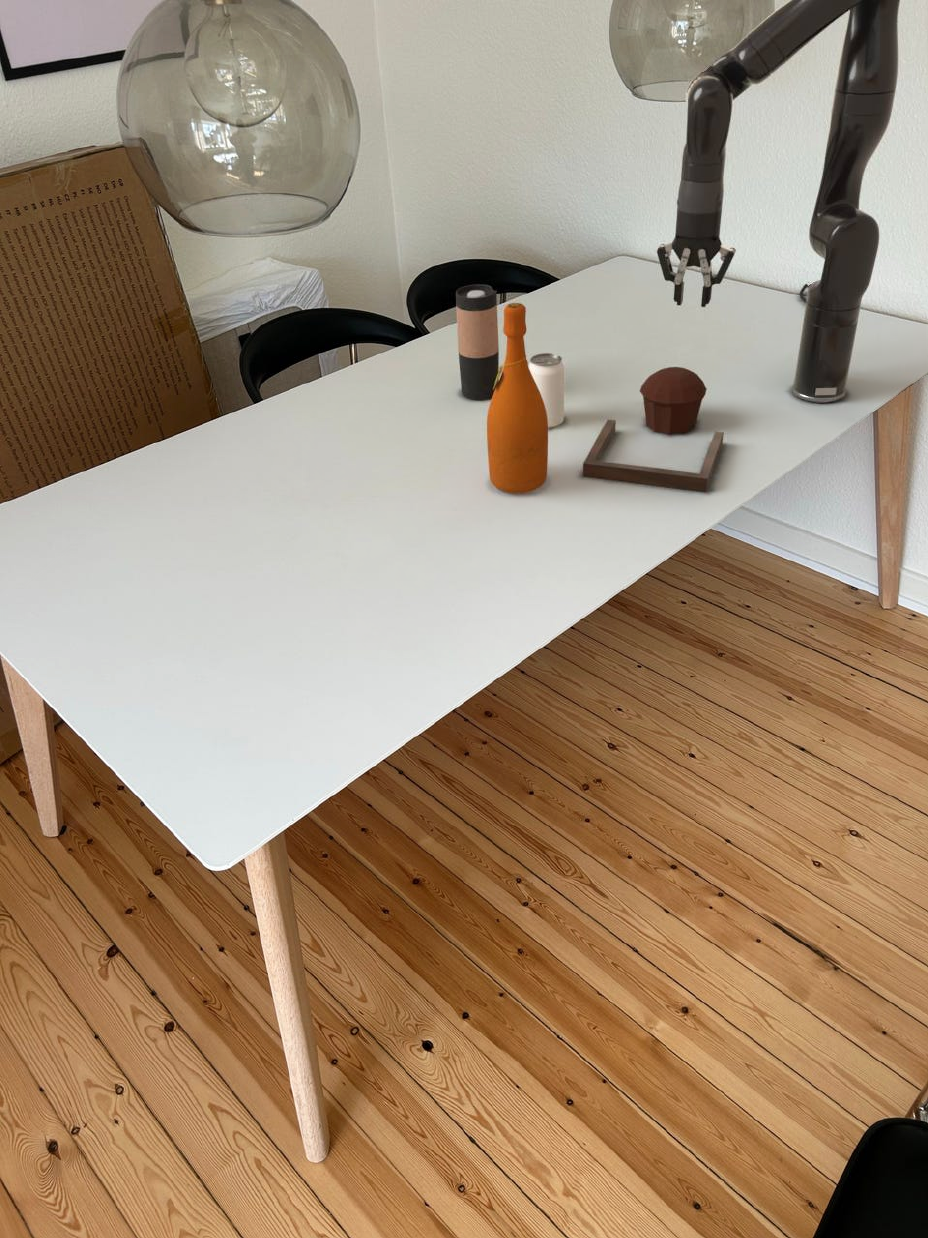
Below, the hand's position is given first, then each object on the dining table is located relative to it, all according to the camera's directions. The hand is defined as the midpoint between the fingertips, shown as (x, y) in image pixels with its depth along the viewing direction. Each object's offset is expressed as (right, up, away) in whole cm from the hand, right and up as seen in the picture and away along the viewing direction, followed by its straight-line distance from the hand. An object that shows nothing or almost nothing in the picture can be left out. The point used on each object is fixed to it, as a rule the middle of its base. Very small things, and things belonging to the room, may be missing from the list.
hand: (691, 304), depth 184 cm
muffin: (-4, -22, 0) cm, 22 cm away
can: (-26, -21, +4) cm, 33 cm away
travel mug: (-38, -13, +15) cm, 43 cm away
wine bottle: (-32, -34, -14) cm, 49 cm away
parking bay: (-9, -30, -10) cm, 32 cm away
